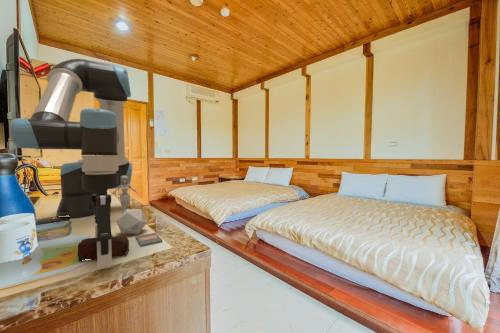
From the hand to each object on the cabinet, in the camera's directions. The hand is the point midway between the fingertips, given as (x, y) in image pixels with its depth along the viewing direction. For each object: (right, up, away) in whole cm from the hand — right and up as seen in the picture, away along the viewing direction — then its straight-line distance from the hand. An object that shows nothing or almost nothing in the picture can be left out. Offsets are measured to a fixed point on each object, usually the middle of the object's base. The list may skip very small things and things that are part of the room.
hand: (103, 256), depth 56 cm
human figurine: (-12, +1, +32) cm, 34 cm away
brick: (0, -1, +2) cm, 2 cm away
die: (-2, 0, +18) cm, 18 cm away
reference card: (+6, 0, +12) cm, 13 cm away
